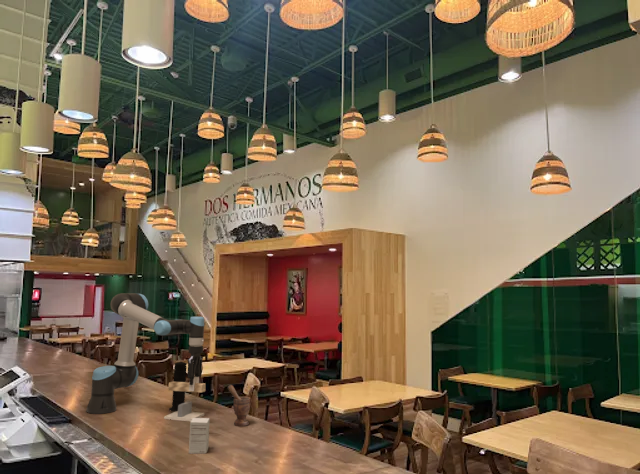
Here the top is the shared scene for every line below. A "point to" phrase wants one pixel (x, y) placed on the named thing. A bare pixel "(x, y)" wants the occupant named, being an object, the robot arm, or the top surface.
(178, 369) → the handle grip
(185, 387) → the maple bar
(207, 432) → the supplement box
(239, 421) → the mortar and pestle
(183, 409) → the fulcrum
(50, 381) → the top surface
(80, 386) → the top surface
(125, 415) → the top surface
